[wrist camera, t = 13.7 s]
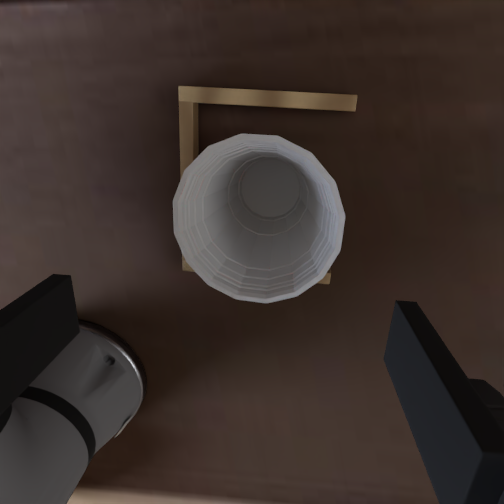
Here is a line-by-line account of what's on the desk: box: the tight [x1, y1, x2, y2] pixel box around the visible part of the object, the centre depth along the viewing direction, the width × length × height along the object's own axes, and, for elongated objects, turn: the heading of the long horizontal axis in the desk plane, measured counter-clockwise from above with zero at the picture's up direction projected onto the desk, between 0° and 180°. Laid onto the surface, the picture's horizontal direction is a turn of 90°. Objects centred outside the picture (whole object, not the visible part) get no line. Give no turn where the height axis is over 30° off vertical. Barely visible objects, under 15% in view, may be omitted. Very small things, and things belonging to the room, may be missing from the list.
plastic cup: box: [173, 134, 345, 303], centre depth 27 cm, size 11×11×12 cm
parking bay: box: [178, 86, 357, 284], centre depth 32 cm, size 14×16×2 cm
